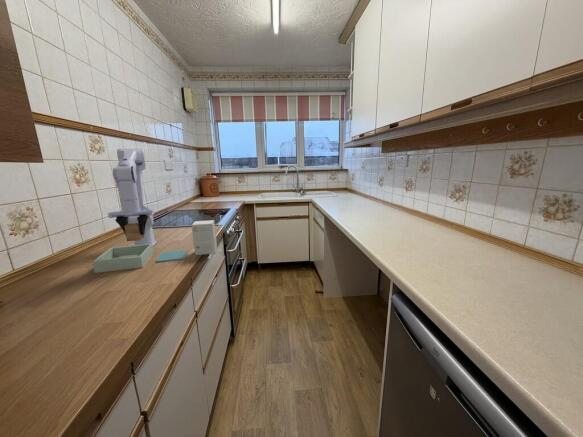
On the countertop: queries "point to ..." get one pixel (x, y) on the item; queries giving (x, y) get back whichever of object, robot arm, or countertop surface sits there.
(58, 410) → the countertop surface
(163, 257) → the teal mat
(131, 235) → the walnut block
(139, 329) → the countertop surface
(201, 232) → the small box
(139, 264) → the crate
